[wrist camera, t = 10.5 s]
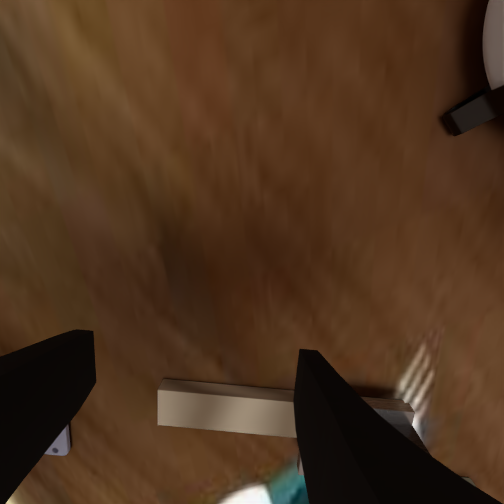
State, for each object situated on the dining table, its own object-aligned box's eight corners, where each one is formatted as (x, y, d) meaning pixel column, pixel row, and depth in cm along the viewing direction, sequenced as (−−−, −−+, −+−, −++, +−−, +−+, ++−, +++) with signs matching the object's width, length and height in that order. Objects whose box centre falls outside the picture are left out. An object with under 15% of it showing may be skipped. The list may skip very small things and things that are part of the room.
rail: (163, 412, 22) (157, 424, 21) (163, 378, 21) (157, 389, 20) (395, 433, 22) (403, 447, 21) (402, 400, 21) (411, 412, 20)
